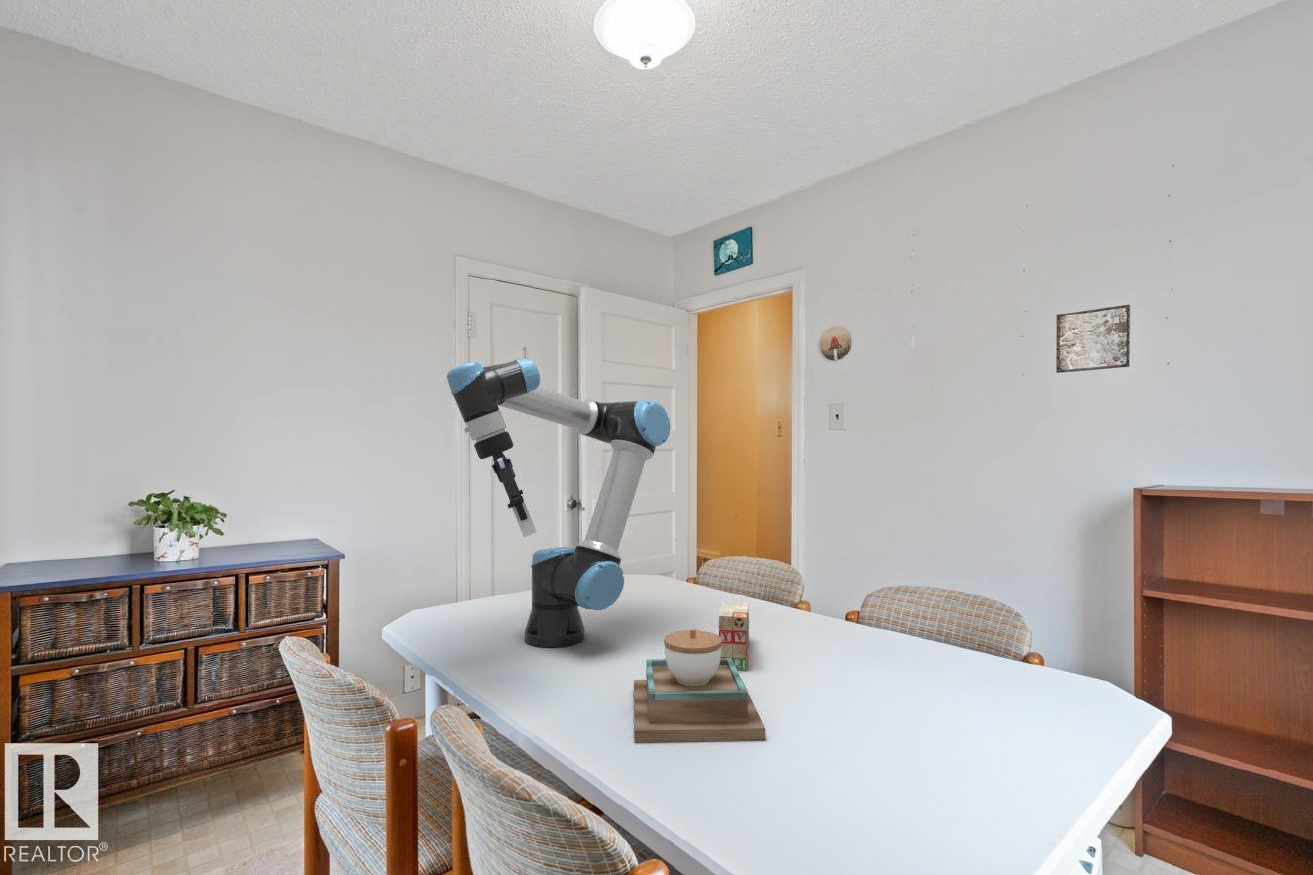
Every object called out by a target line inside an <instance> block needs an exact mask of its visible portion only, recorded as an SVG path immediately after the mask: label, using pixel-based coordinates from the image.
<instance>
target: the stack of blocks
mask: <svg viewBox="0 0 1313 875" xmlns="http://www.w3.org/2000/svg"><path fill="white" fill-rule="evenodd" d="M749 616H750V609H749V604H748V602H747V601H746V602H745V601H724V600H723V601H722V603H721V607H720V611H719V614H718V636H720V638H721V639H722V646H721V659H722V658H731V659H732V661H733V663H734V665H735V667H736V669H737V671H738V672H747V671H748V670H747V669H748V662H749V648H750V617H749Z"/></svg>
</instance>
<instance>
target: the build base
mask: <svg viewBox="0 0 1313 875" xmlns="http://www.w3.org/2000/svg"><path fill="white" fill-rule="evenodd" d="M645 665H646V670H645V672H646V676H645V677H646V679H634V680H633V716H634V717H633V719H634V720H633V722H634V723H633V724H634V725H633V726H634V727H633V728H634V729H633V730H634V743H635V744H636V743H639V744H641V743H643V744H644V743H676V742H678V743H684V742H685V743H690V742H692V743H693V742H696V743H697V742H736V741H737V742H740V741H743V742H744V741H766V727H765V725H764V722H763V721H762V718H761V717H760V715H759V711H758V710H757V708H756V705H755V704H754V702H753V699H752V697H751V695H750V694H749V691H748V690H747V687H746V685H745V683H744V681H743V678H742V677H741V675H740V673H739V671H737V669H736V667H735V665H734V663H733V661H732V659H731V658H722V659H720V664H719V667H718V670H717V672H716V674H715V675H714V676H713V677H712V678H711V679H710V680H709V682H708V683H707V684H705V685H702V686H685V685H682V684H680V683H678V682H677V680H676V678H674V677H673V675H672V674H671V673H670V671H669V669H668V667H667V664H666V659H665V658H663V659H662V658H659V659H658V658H656V659H646V663H645Z"/></svg>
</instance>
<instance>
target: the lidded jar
mask: <svg viewBox="0 0 1313 875" xmlns="http://www.w3.org/2000/svg"><path fill="white" fill-rule="evenodd" d="M663 643H664V659H666V664H667V667H668V669H669V671H670V673H671V674H672V675H673V677H674V678H676V680H677V682H678V683H680V684H682V685H685V686H702V685H705V684H707V683H708V682H709V680H710V679H711V678H712V677H713V676H714V675H715V674H716V672H717V670H718V667H719V664H720V659H721V646H722V639H721V638H720V636H719V634H716V633H714V632H711V631H707V630H701V629H700V630H699V629H698V630H697V629H695V628H689V629H684V630H677V631H676V630H675V631H674V632H669V633H668V634H666V635H665V636H664V638H663Z"/></svg>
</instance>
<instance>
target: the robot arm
mask: <svg viewBox="0 0 1313 875" xmlns="http://www.w3.org/2000/svg"><path fill="white" fill-rule="evenodd" d="M539 370H540V369H539V368H538V366H537V365H536V363H535V362H534V361H533V360H531V359H530V358H525V357H524V358H521V359H514V360H513V361H510V362H505V363H499V364H495V365H488V366H482V363H480V362H479V361H473V362H472V361H471V362H467V363H465V364H461V365H459V366H456V367H455V368H452V369H450V370H449V371H448V372H447V373H446V379H447V383H448V385H449V389H450V393H451V395H452V396H453V398H454V401H455V404H456V405H457V408H458V410H459V412H460V415H461V417H462V420H463V422H464V423H465V426H466V427H465V428H464V433H469V436H470V439H471V441H475V443H474V445H473V447H474V449H475V452H476V453H477V456H478V458H479V459H480V460H485V459H488V458H491V457H492V459H493V464H491V468H492V470H493V472H494V474H495V475H496V476H497V479H498V480H499V483H500V484H501V483H502V486H503V487H504V490H505V493H506V495H507V497H508V499H509V501H508V502H509V503H507V507H508V509H512V511H513V513H514V516H515V518H516V521H517V523H518V526H519V528H520V532H521V533H522V537H523V538H525V537H529V536H531V535H533V534H535V533H537V532H538V531H537V529H536V526H535V524H534V521H533V519H532V517H531V514H530V511H529V509H528V507H527V504H526V502H525V499H524V496H523V494H524V492H523V489H519V486H518V483H517V481H516V479H515V478H516V473H515V470H514V467H513V466H514V465H513V463H512V461H511V458H510V457H508V458H507V457H506V455H505V454H504V452H506V451H508V450H510V449H512V448H513V447H514V442H513V440H512V438H511V435H510V432H509V431H507V430H505V429H507V424H506V422H505V420H504V416H503V414H502V412H501V410H500V407H503V408H506V409H509V410H513V411H516V412H519V413H523V414H525V415H529V416H533V417H536V418H538V419H542V420H546V421H548V422H553V423H556V424H559V425H562V426H565V427H569V428H572V429H574V430H575V431H576V432H577V433H578V434H579V435H581V436H585V437H588V438H591V439H593V440H594V439H595V440H598V441H599V442H600V441H601V442H602V443H603V442H604V443H607V444H609V445H610V447H611V449H612V451H613V453H612V455H611V458H610V461H609V465H608V468H607V471H606V473H605V476H604V479H603V483H602V486H601V487H600V488H601V489H600V492H599V494H598V498H597V501H596V504H595V507H594V510H593V513H592V516H591V519H590V523H589V525H588V529H587V530H586V534H585V538H584V540H583V541H581V542H578V543H577V544H576V545H575V546H563V547H561V546H560V547H550V548H545V549H538V550H536V551H534V553H533V554H532V559H531V566H530V567H531V610H530V614H529V617H528V620H527V623H526V626H525V630H524V641H525V643H527V644H528V645H530V646H534V647H539V648H561V647H568V646H572V645H575V644H578V643H580V642H581V641H583V640H584V639H585V625H584V623H583V619H582V616H581V614H580V611H579V607H580V608H582V609H585V610H594V611H602V610H605V609H608V608H609V607H610V606H612V605H614V604H615V602H617V600H618V599H619V598H620V596H621V593H622V592H623V589H624V585H625V576H624V571H623V569H622V567H621V566H620V564H621V562H622V557H621V555H620V552H619V548H620V544H621V541H622V538H623V534H624V531H625V528H626V525H627V522H628V518H629V516H630V511H631V509H632V506H633V502H634V499H635V495H636V492H637V490H638V486H639V484H640V480H641V477H642V473H643V470H644V467H645V463H646V461H649V460H650V459H653V457H654V455H655V451H656V448H657V447H659V446H661V445H663V444H664V443H666V442H667V441H668V439H669V437H670V434H671V421H670V420H671V419H670V417H669V415H668V412H667V410H666V409H665V407H664V406H663V405H662V404H661V403H659V402H657V401H655V400H646V399H640V400H635V401H633V400H632V401H621V402H620V401H618V402H599V401H596V400H592V399H586V400H584V401H583V400H580V399H578V398H574V397H571V396H570V395H569V396H568V395H565V394H563V393H559V392H557V391H553V390H551V389H548V388H545V387H543V386H540V382H541V374H540V372H539ZM499 406H500V407H499Z"/></svg>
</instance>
